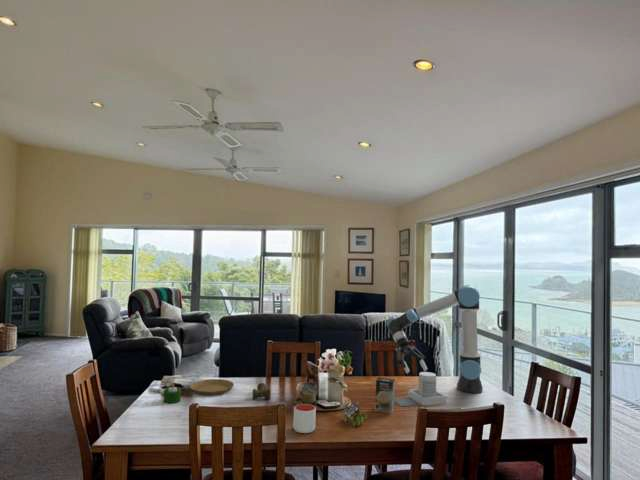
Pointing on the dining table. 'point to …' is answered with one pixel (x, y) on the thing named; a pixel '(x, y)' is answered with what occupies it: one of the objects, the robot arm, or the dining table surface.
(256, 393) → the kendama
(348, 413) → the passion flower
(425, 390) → the supplement tub
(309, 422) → the cup
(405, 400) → the slate mat
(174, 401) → the candle
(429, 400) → the open box
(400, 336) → the robot arm
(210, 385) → the plant saucer
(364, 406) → the dining table surface
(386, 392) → the coffee box
